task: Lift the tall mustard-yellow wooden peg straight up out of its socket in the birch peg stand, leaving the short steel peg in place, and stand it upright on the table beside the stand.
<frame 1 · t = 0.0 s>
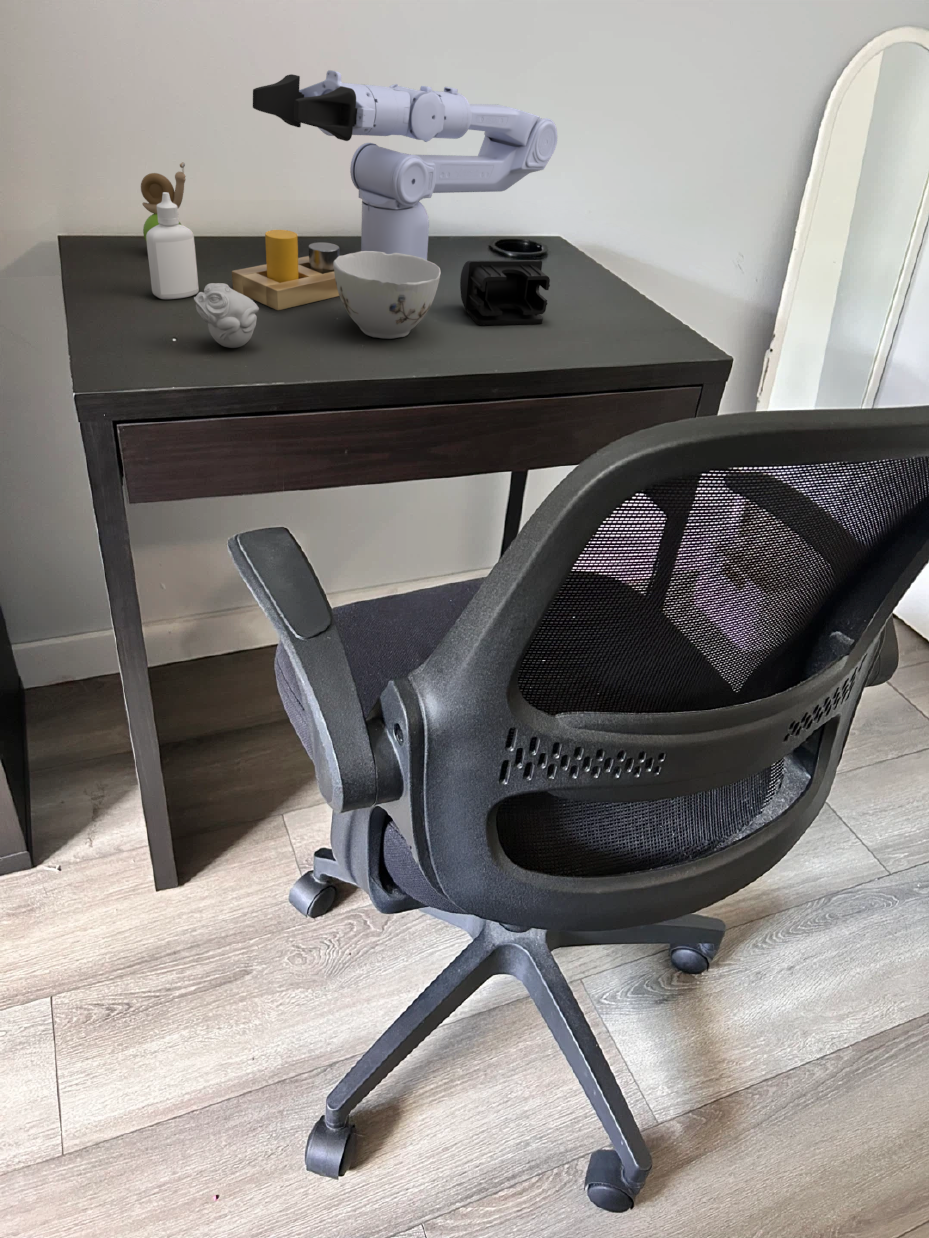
hand: (274, 104, 108), 22 cm above the table, tool horizontal, fingers open, 7 cm apart
snail figurine: (169, 255, 129), on the table
eye dropper bottle: (176, 296, 116), on the table
frog figurine: (230, 348, 104), on the table
peg stand: (304, 289, 122), on the table
yellow peg: (283, 294, 120), resting in peg stand
teacup: (381, 329, 113), on the table
steel peg: (324, 285, 124), resting in peg stand
end cap: (501, 317, 121), on the table
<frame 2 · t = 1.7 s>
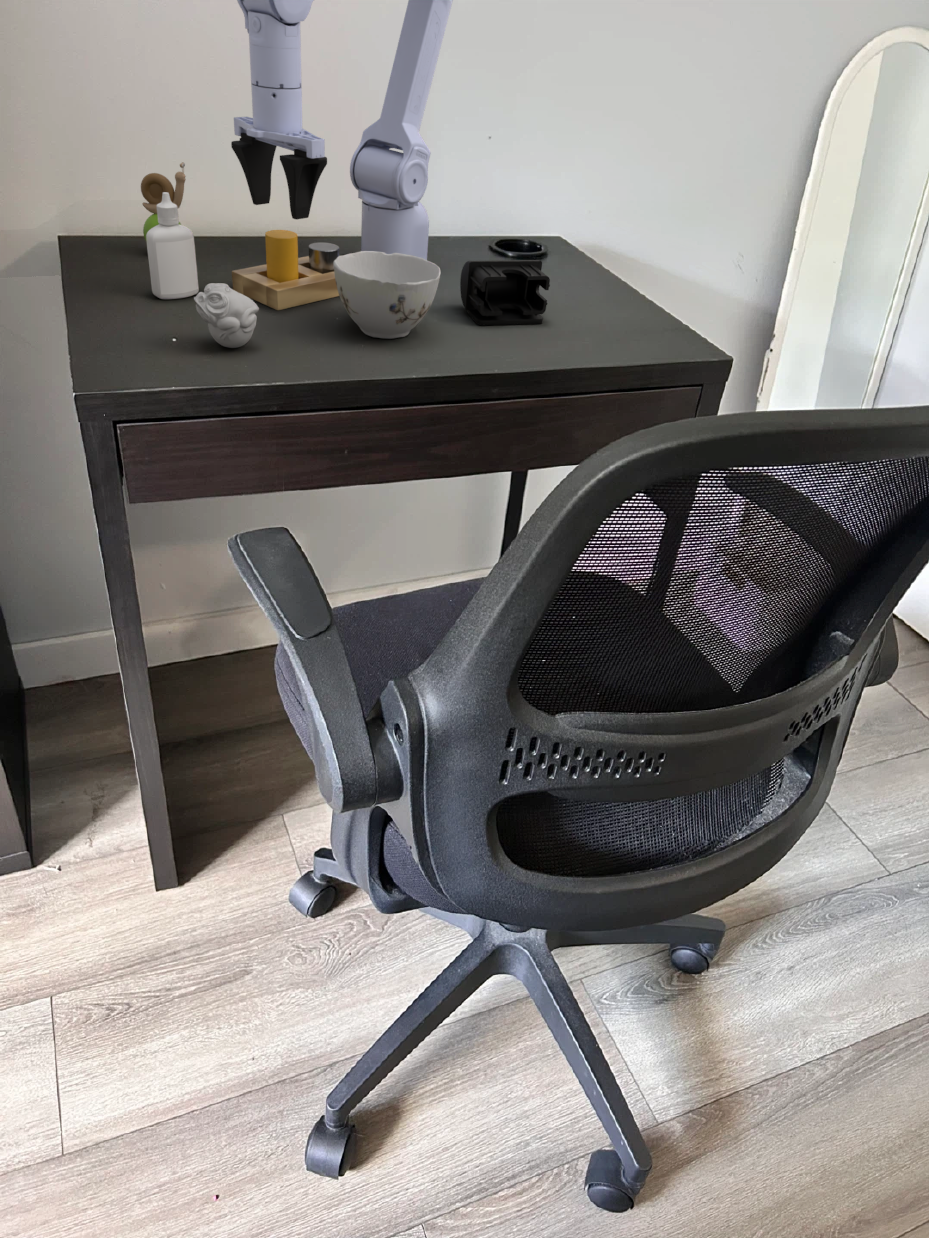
hand: (280, 210, 114), 10 cm above the table, tool pointing down, fingers open, 7 cm apart
nothing on the table moved.
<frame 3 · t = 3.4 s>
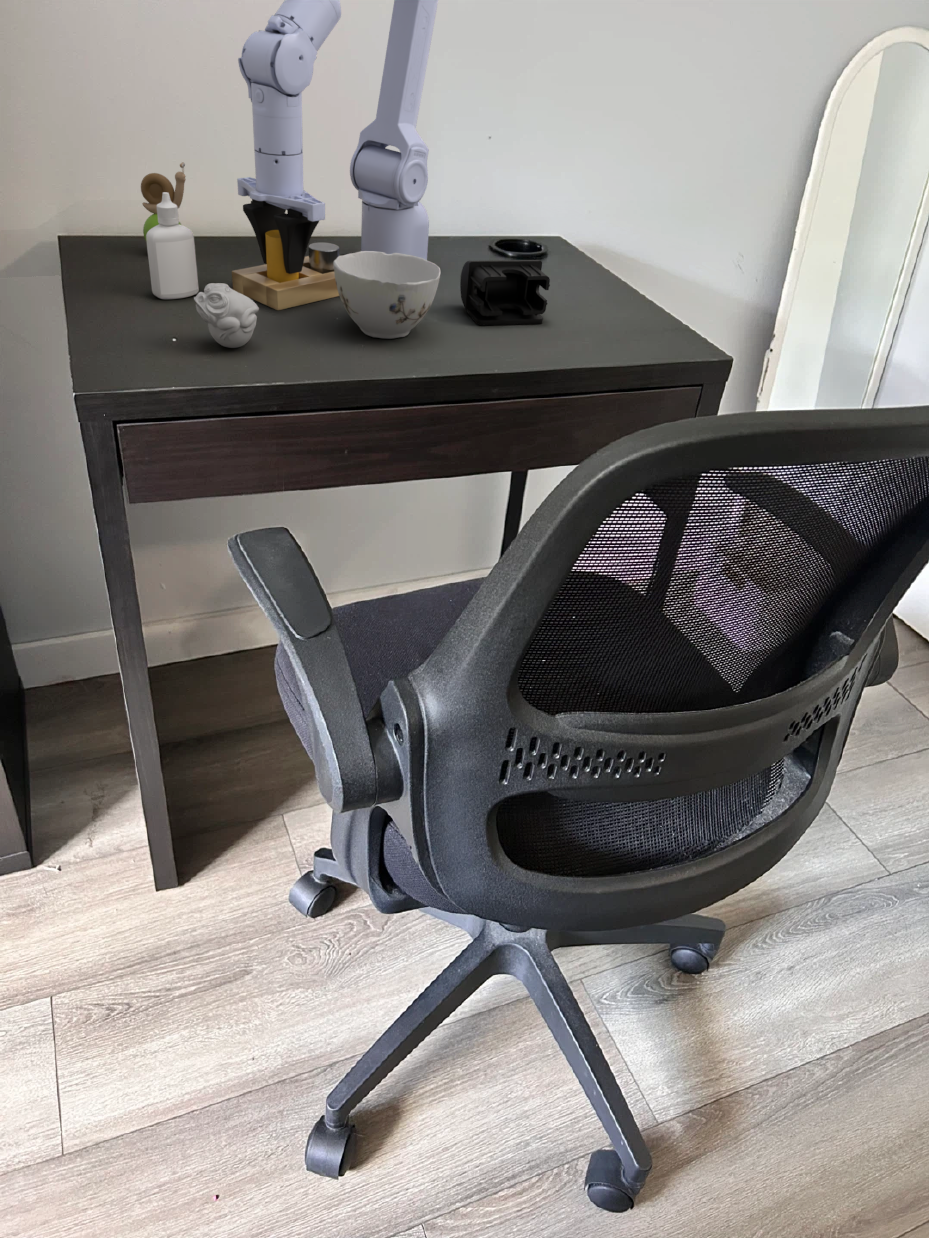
hand: (282, 267, 118), 3 cm above the table, tool pointing down, fingers closed on yellow peg, 4 cm apart
yellow peg: (283, 294, 120), resting in peg stand, touching gripper
everything else where it was.
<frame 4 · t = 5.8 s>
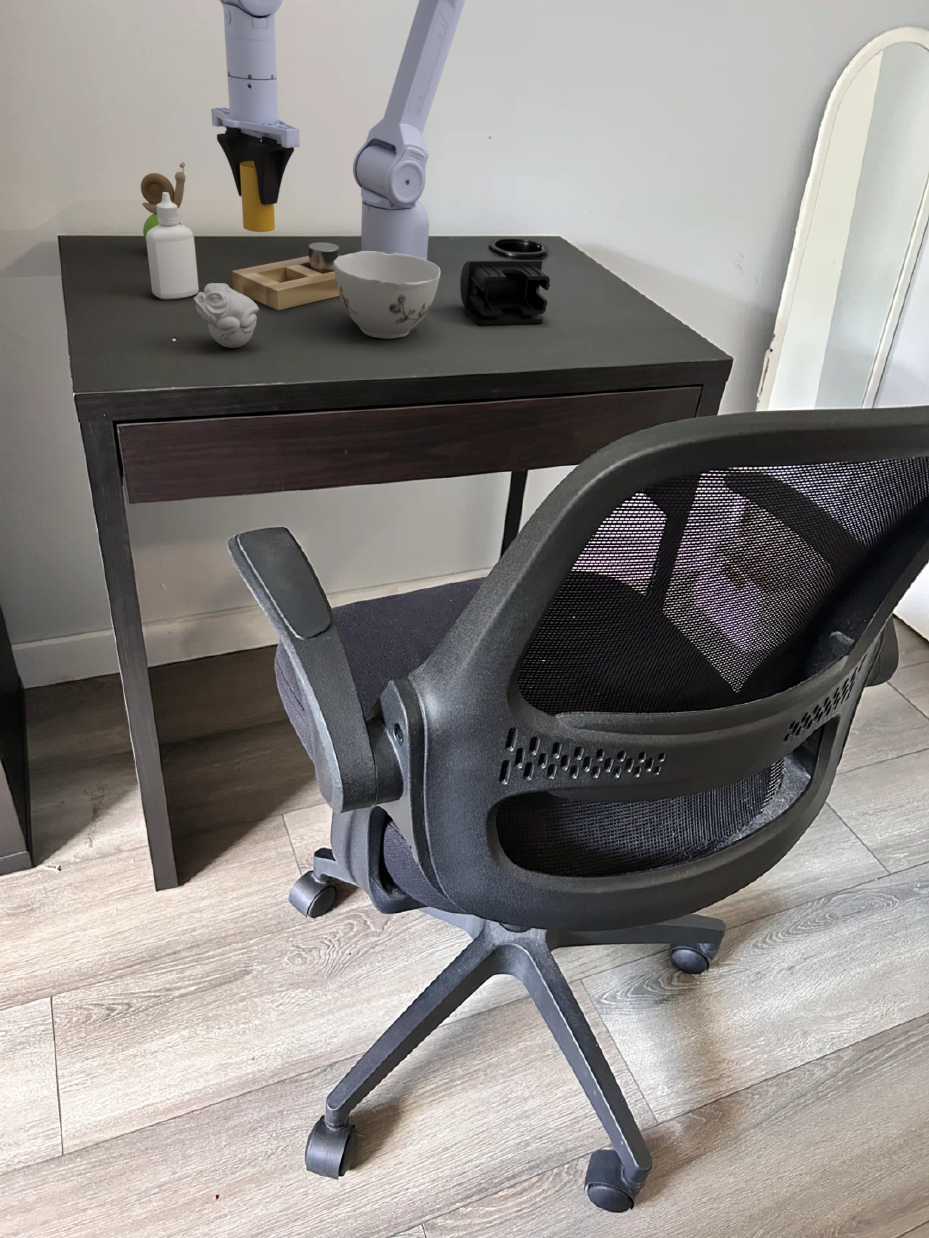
hand: (257, 199, 116), 10 cm above the table, tool pointing down, fingers closed on yellow peg, 4 cm apart
yellow peg: (259, 228, 118), point 7 cm above the table, touching gripper
everything else where it was.
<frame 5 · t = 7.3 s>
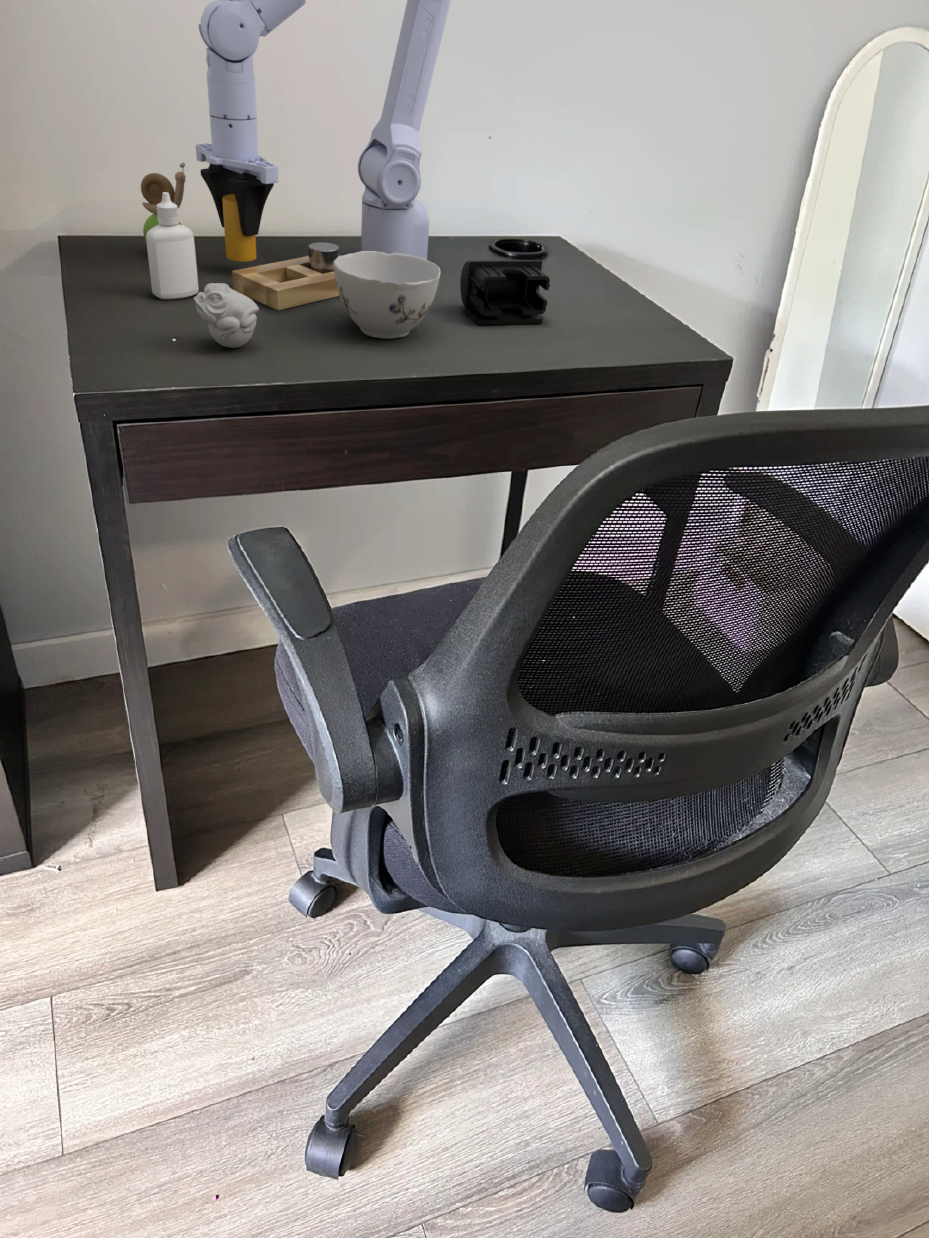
hand: (239, 231, 122), 5 cm above the table, tool pointing down, fingers closed on yellow peg, 4 cm apart
yellow peg: (241, 257, 124), point 2 cm above the table, touching gripper
everything else where it was.
when the fingers open (3 cm above the table, at t = 8.4 s): yellow peg stays where it is, on the table.
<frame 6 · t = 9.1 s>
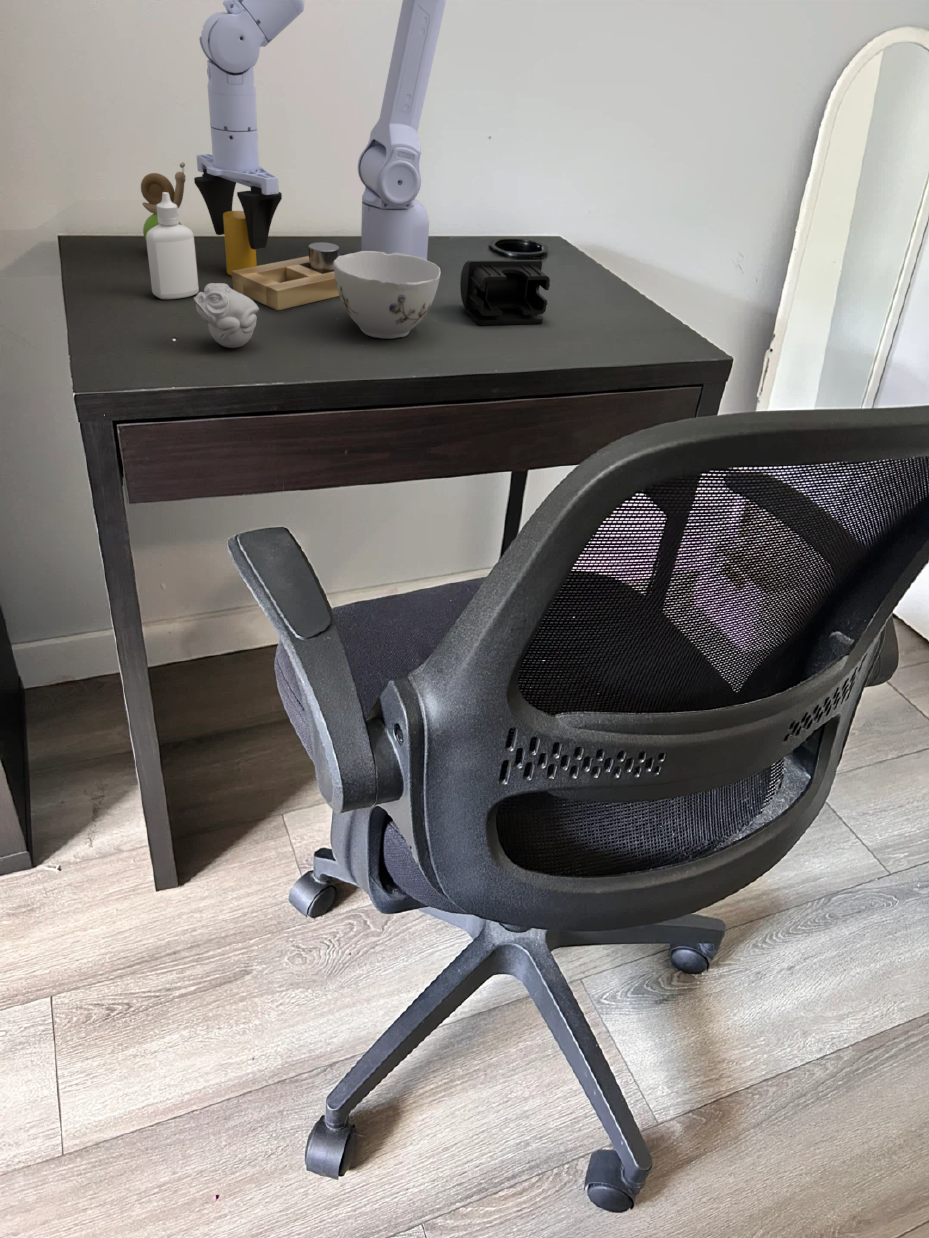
hand: (240, 240, 123), 4 cm above the table, tool pointing down, fingers open, 7 cm apart
yellow peg: (242, 272, 125), on the table
everything else where it was.
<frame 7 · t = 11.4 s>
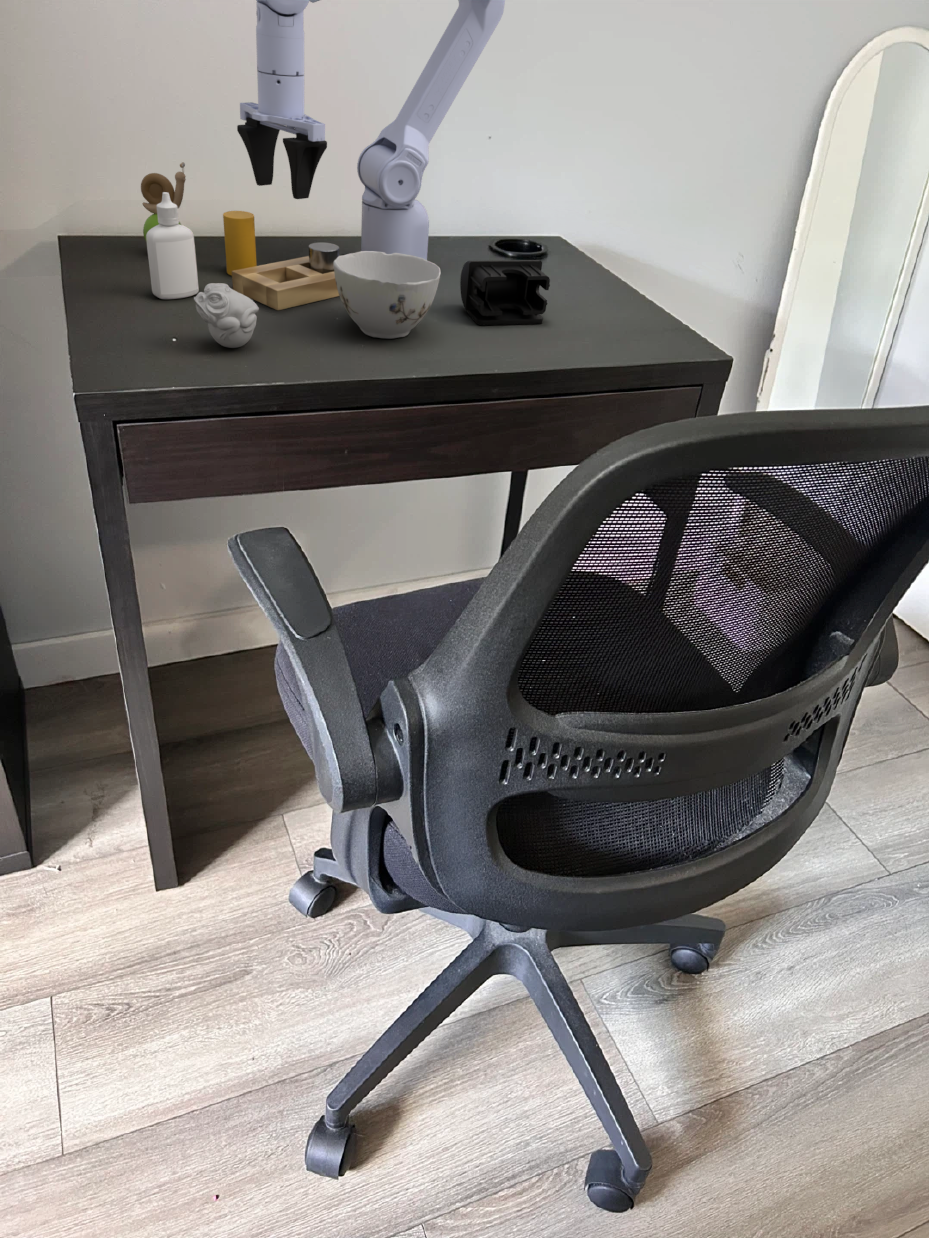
hand: (282, 191, 121), 10 cm above the table, tool pointing down, fingers open, 7 cm apart
nothing on the table moved.
at the end: yellow peg 0.1 cm from the target spot, on the table; yellow peg tilted 0°; steel peg moved 0.0 cm from its start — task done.
